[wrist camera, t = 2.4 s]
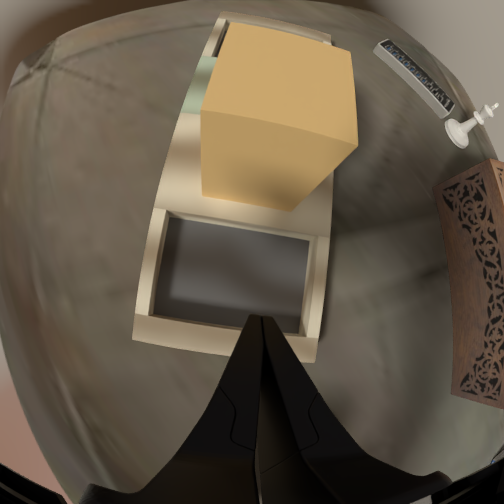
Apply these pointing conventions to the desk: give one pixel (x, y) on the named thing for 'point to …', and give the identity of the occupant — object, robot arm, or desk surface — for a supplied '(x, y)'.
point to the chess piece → (467, 125)
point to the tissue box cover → (476, 278)
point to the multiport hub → (415, 77)
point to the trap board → (229, 243)
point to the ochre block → (275, 117)
